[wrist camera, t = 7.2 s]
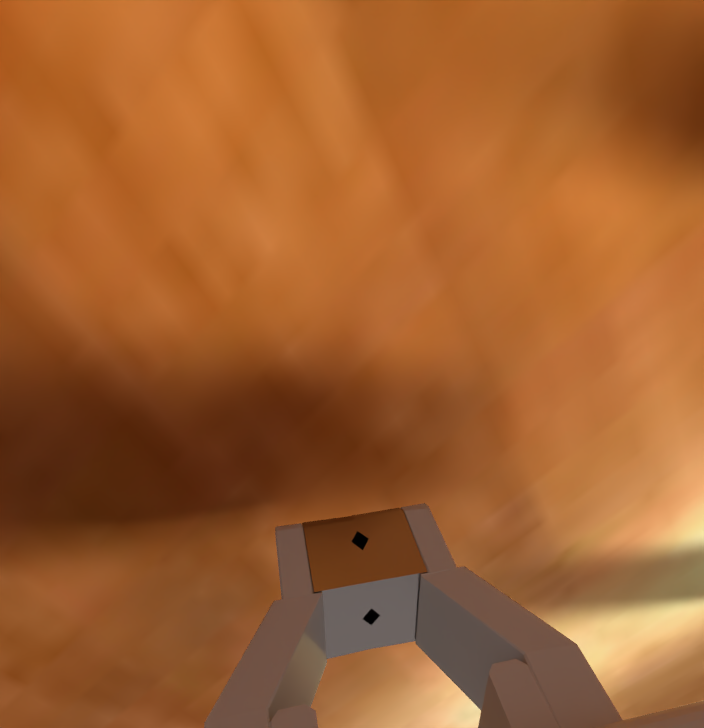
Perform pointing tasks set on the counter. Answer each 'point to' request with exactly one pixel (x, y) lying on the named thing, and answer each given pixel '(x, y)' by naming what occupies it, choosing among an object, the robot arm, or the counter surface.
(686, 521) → the counter surface
